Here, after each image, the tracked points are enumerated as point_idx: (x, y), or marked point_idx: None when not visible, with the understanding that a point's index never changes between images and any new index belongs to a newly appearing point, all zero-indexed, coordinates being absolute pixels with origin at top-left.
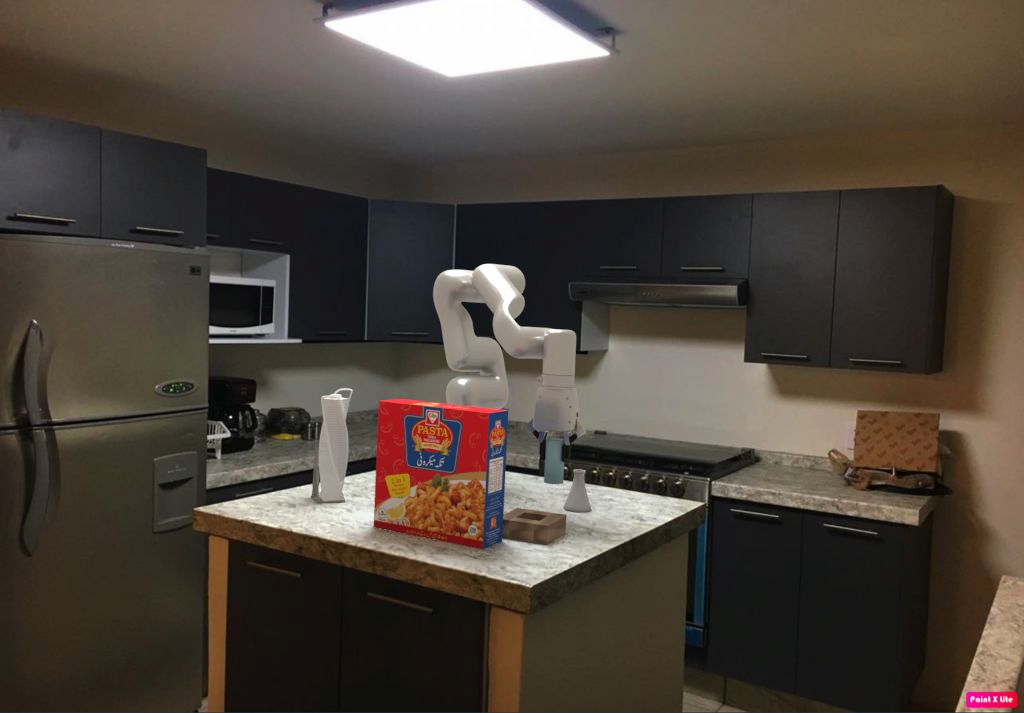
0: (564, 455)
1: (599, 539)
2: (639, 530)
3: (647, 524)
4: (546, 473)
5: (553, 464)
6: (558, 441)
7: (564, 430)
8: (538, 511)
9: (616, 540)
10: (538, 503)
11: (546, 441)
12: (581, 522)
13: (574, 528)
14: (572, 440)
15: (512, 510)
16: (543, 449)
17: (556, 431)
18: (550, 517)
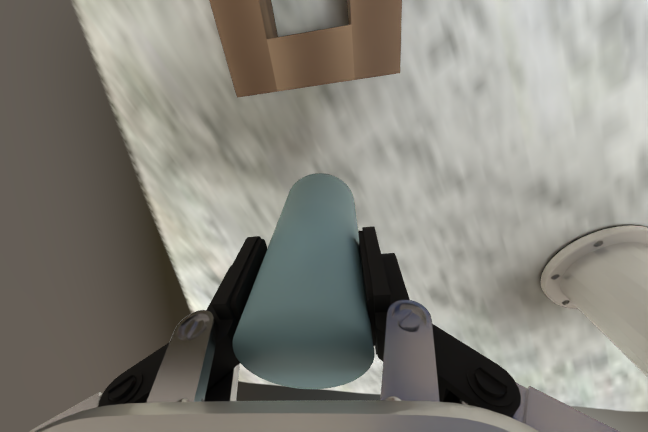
0: (237, 257)
1: (160, 87)
2: (168, 215)
3: (190, 259)
4: (335, 192)
5: (297, 211)
6: (248, 319)
7: (91, 425)
8: (321, 75)
9: (133, 107)
10: (417, 281)
11: (352, 311)
12: (280, 203)
13: (261, 147)
14: (158, 354)
15: (398, 17)
16: (367, 264)
17: (216, 403)
18: (247, 15)
